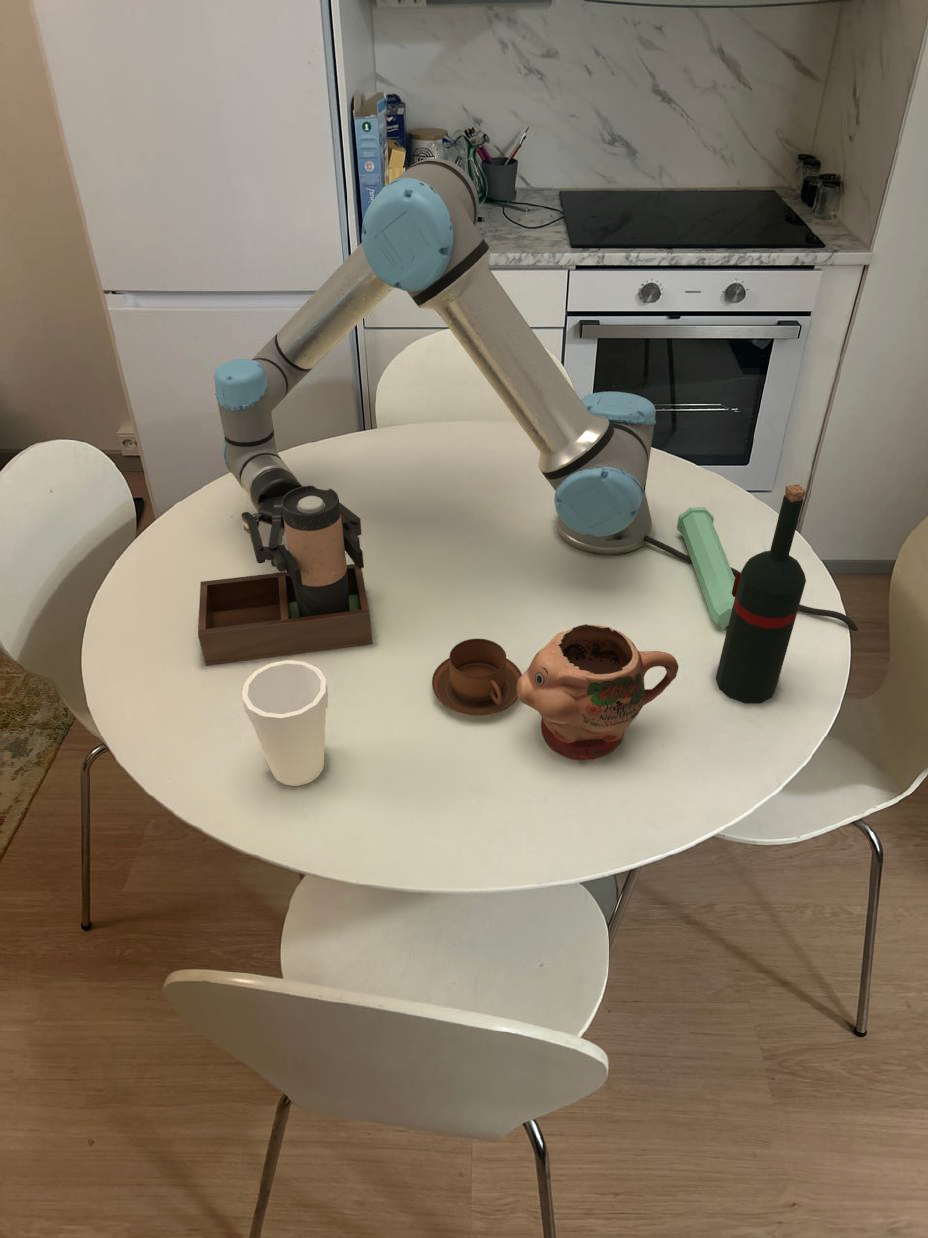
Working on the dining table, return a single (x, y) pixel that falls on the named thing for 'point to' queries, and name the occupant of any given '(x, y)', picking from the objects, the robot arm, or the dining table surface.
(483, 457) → the dining table surface
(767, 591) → the wine bottle
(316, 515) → the travel mug
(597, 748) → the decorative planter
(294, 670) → the foam cup
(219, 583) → the divided box
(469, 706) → the cup and saucer
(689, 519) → the container
